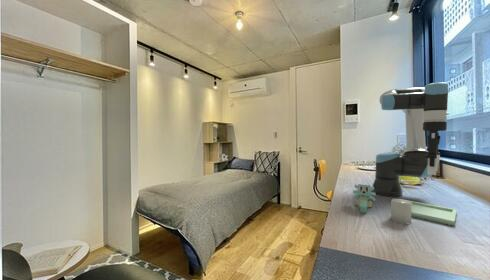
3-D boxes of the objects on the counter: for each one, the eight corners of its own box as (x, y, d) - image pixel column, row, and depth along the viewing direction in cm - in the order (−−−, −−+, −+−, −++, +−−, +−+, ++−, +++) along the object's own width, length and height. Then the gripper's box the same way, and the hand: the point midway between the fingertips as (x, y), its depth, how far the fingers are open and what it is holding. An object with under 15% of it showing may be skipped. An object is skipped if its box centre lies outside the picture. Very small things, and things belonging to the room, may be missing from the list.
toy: (356, 212, 99) (349, 179, 105) (357, 216, 110) (350, 185, 116) (383, 211, 95) (374, 176, 101) (380, 214, 106) (372, 183, 112)
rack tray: (393, 212, 101) (393, 208, 101) (401, 203, 113) (401, 199, 113) (454, 226, 87) (454, 221, 86) (456, 213, 98) (456, 209, 98)
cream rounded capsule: (388, 220, 93) (389, 201, 92) (392, 215, 98) (393, 197, 97) (409, 225, 88) (410, 205, 87) (412, 220, 93) (413, 201, 92)
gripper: (446, 120, 81) (444, 178, 82) (447, 121, 99) (445, 169, 100) (420, 120, 86) (418, 175, 87) (425, 122, 104) (423, 167, 105)
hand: (432, 172), depth 94 cm, fingers open, 13 cm apart
